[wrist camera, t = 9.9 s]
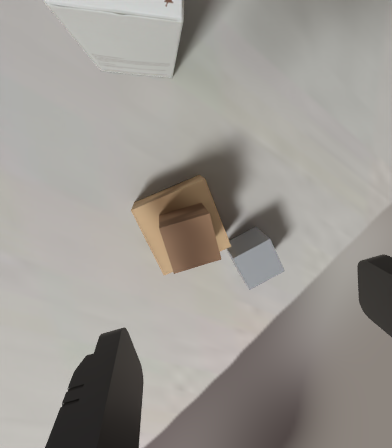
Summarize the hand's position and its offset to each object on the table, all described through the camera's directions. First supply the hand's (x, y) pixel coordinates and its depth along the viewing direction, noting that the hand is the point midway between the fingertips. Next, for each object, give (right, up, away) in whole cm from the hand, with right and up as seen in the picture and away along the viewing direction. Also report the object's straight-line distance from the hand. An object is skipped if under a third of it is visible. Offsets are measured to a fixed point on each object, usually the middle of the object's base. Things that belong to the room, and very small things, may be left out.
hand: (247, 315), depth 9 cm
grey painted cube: (+5, 0, +24) cm, 25 cm away
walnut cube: (-3, +3, +18) cm, 19 cm away
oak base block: (-4, +4, +22) cm, 23 cm away
